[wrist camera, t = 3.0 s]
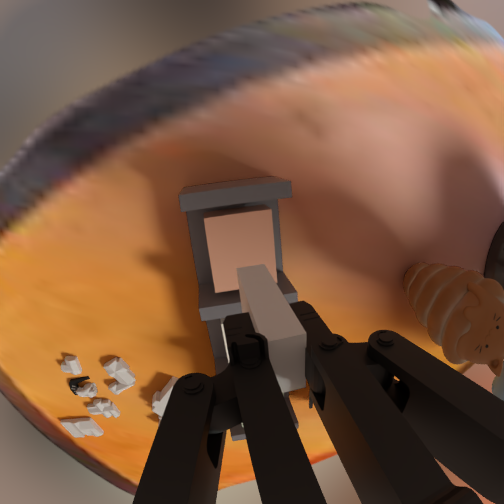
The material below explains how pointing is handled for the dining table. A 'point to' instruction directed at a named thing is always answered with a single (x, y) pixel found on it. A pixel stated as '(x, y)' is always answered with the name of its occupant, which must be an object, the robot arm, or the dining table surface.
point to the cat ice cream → (459, 312)
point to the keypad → (210, 302)
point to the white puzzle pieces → (106, 407)
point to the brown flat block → (239, 243)
